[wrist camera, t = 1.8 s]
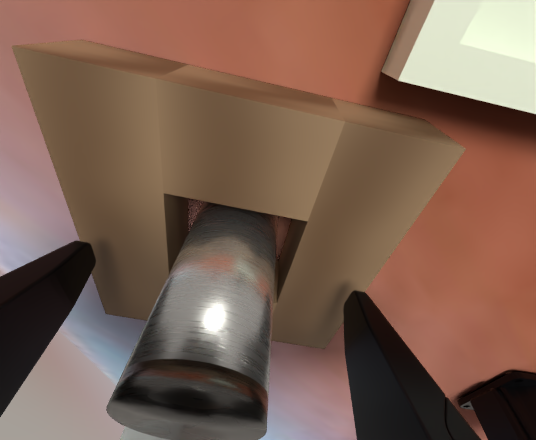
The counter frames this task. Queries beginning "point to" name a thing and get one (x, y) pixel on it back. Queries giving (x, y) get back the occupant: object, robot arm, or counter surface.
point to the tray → (469, 50)
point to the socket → (227, 174)
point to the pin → (207, 335)
